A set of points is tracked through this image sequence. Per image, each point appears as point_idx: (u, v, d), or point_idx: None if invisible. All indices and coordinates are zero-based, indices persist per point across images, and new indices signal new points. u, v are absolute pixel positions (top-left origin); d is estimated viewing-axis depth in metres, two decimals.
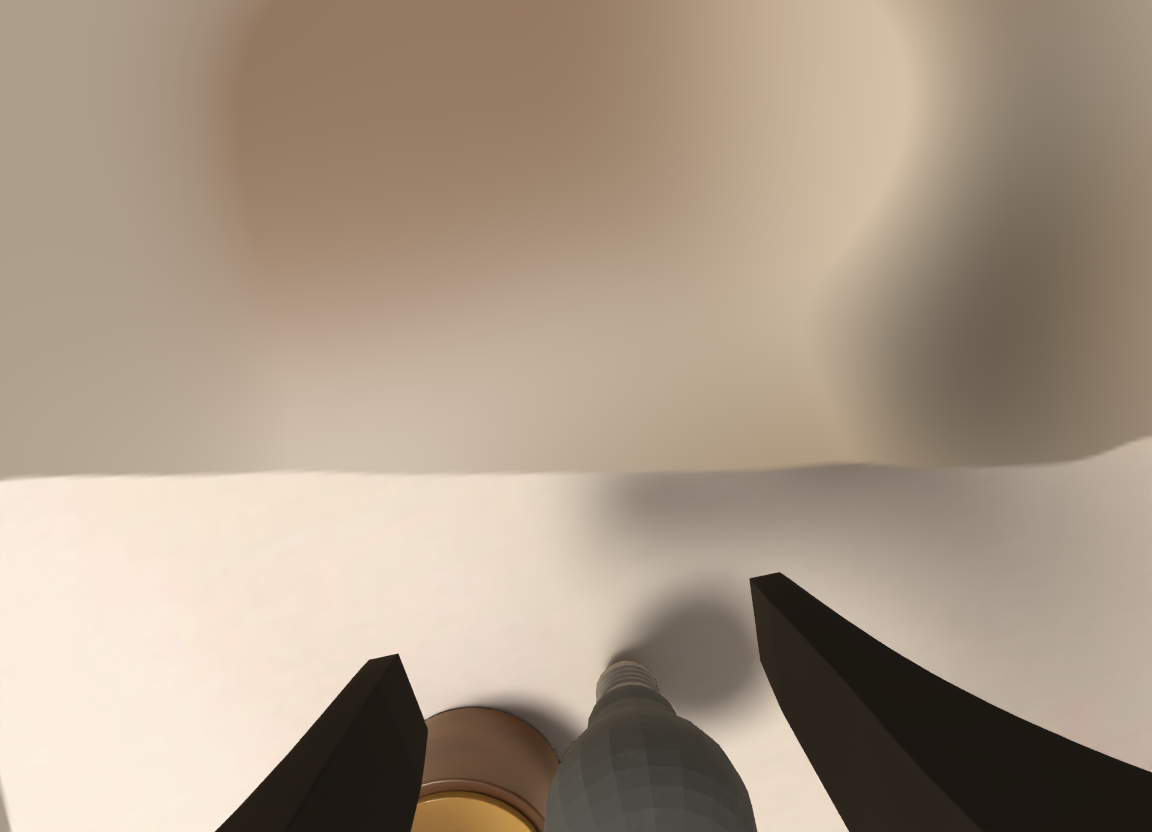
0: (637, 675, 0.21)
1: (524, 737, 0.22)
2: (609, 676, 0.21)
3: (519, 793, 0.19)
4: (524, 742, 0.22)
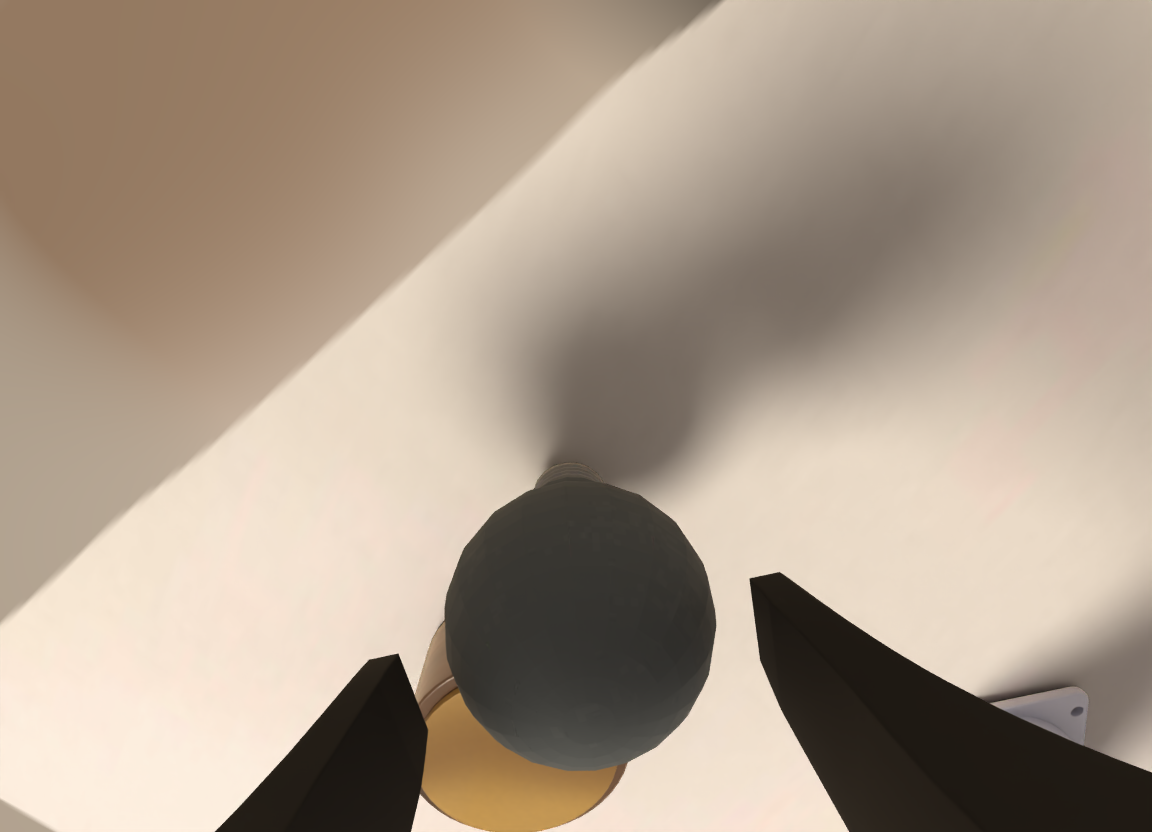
0: (555, 475, 0.17)
1: None
2: None
3: None
4: None
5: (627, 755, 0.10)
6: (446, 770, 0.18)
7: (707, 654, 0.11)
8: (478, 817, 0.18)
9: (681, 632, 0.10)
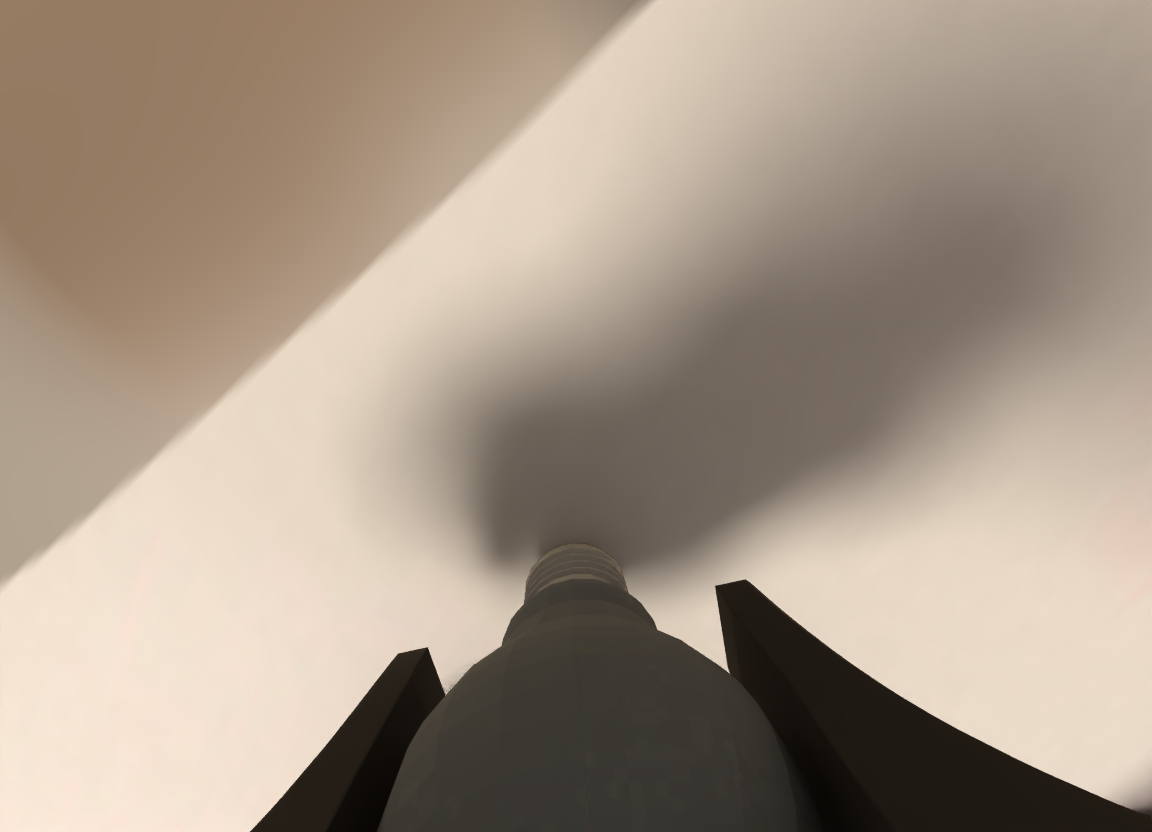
0: (556, 567, 0.12)
1: None
2: None
3: None
4: None
5: None
6: None
7: None
8: None
9: None
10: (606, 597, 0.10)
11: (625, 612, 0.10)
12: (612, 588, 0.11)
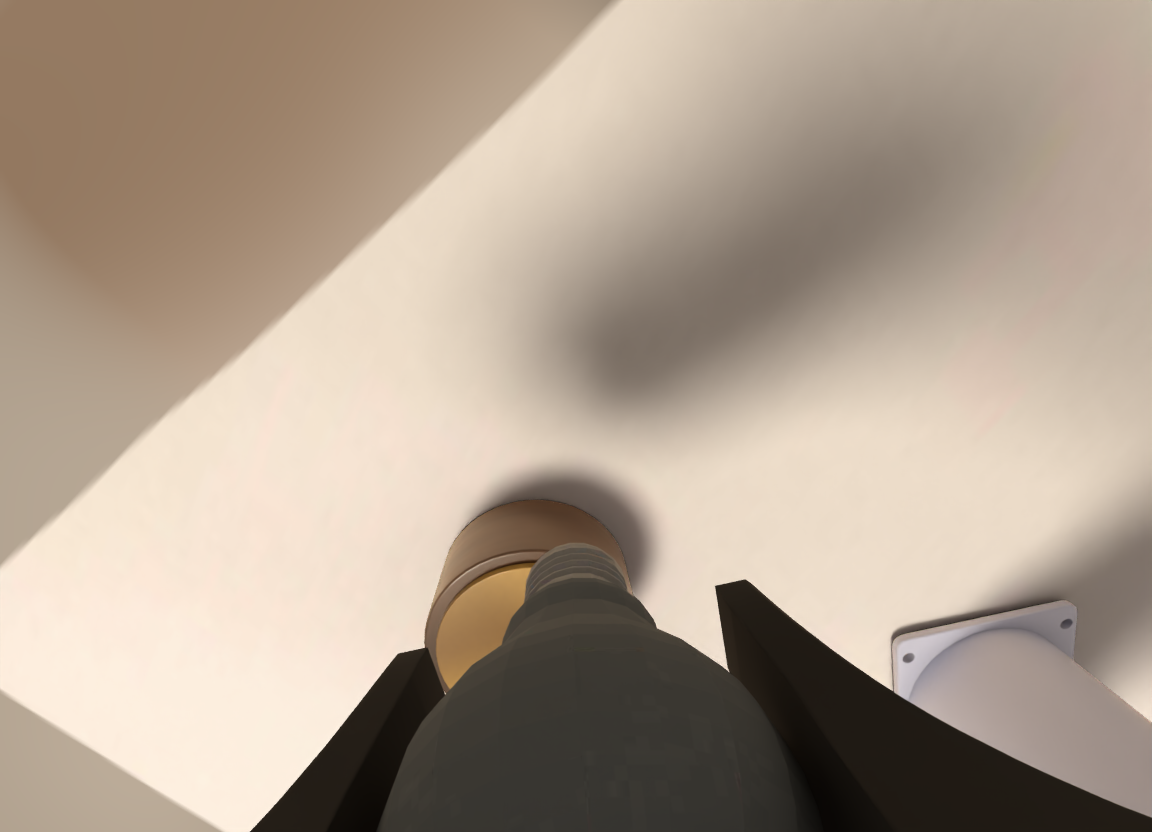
0: (556, 566, 0.12)
1: (529, 509, 0.20)
2: None
3: (529, 547, 0.18)
4: (530, 513, 0.20)
5: None
6: (465, 661, 0.18)
7: None
8: None
9: None
10: (606, 596, 0.10)
11: (625, 611, 0.10)
12: (612, 587, 0.11)
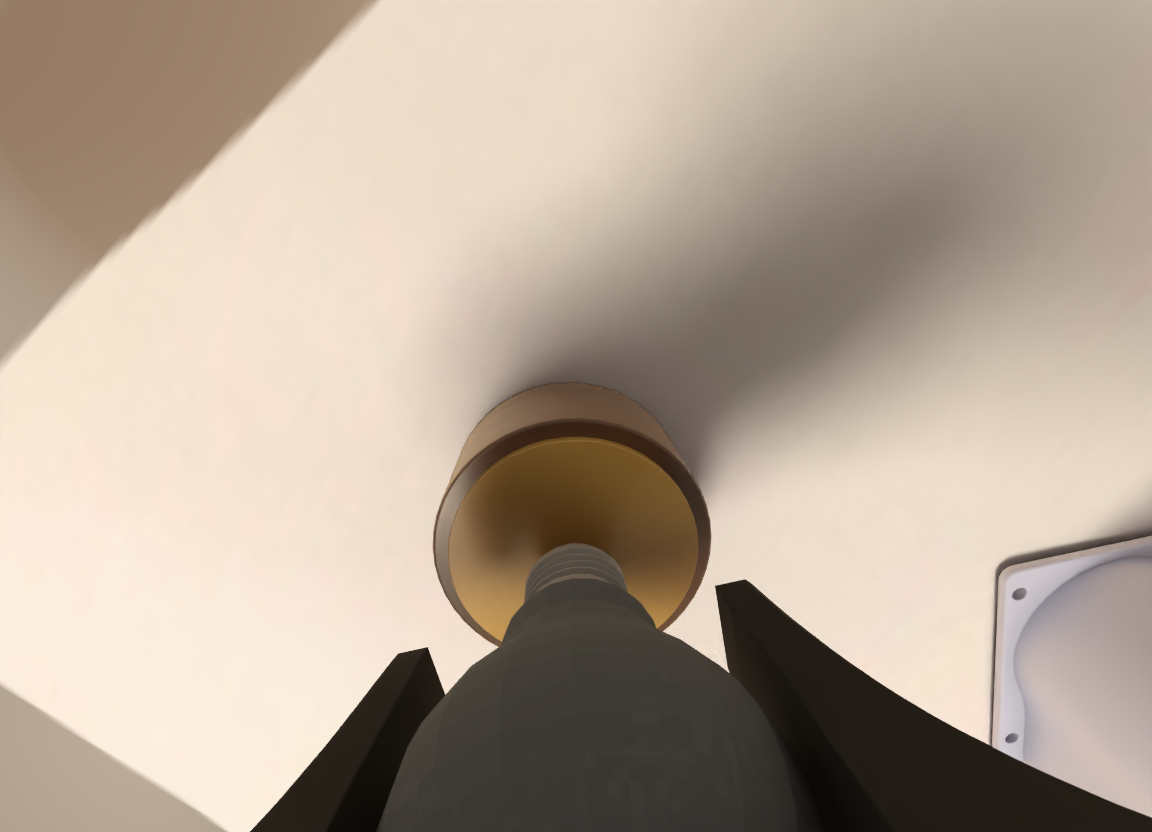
0: (556, 567, 0.12)
1: (565, 389, 0.16)
2: (528, 592, 0.13)
3: (571, 416, 0.14)
4: (567, 392, 0.16)
5: None
6: (486, 569, 0.14)
7: None
8: None
9: None
10: (606, 597, 0.10)
11: (625, 612, 0.10)
12: (612, 588, 0.11)
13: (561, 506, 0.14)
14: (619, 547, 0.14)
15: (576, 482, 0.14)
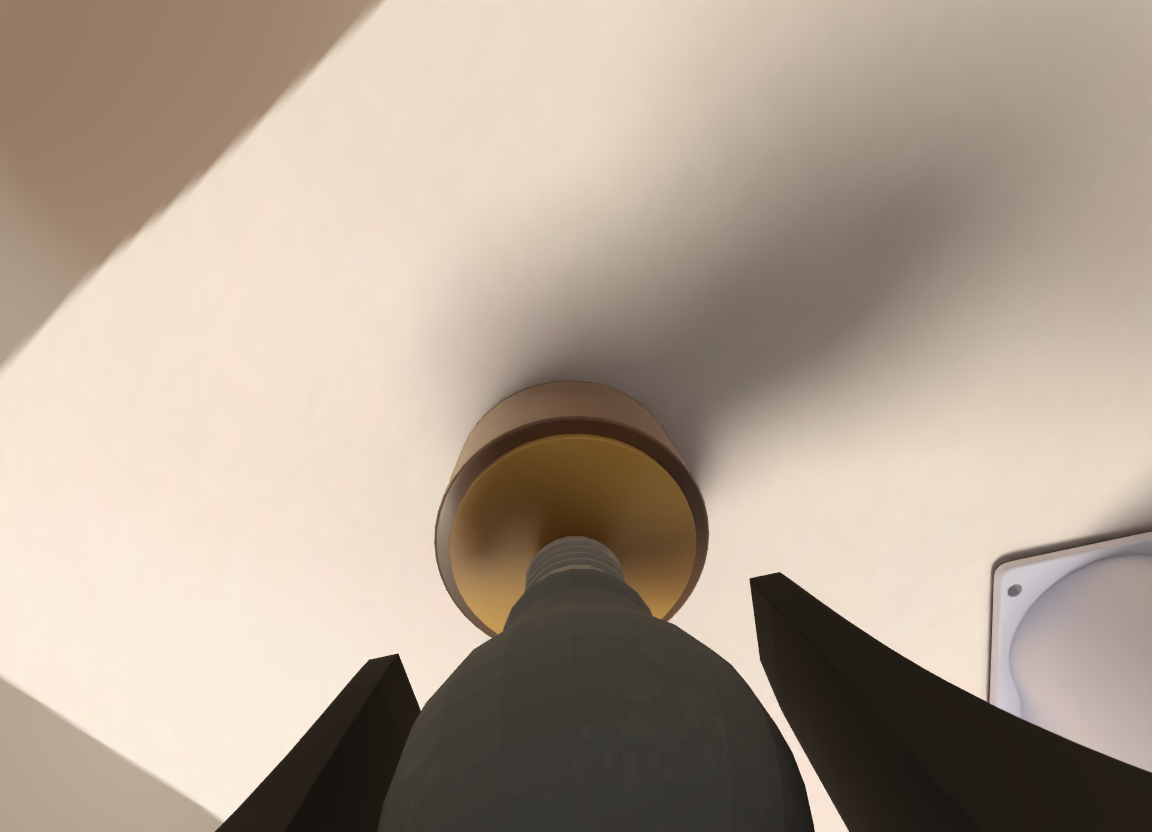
0: (556, 558, 0.12)
1: (565, 387, 0.16)
2: None
3: (571, 414, 0.14)
4: (566, 390, 0.16)
5: None
6: (487, 565, 0.14)
7: None
8: None
9: None
10: (604, 586, 0.11)
11: (622, 600, 0.10)
12: (609, 578, 0.11)
13: (561, 502, 0.14)
14: (618, 543, 0.14)
15: (576, 479, 0.14)
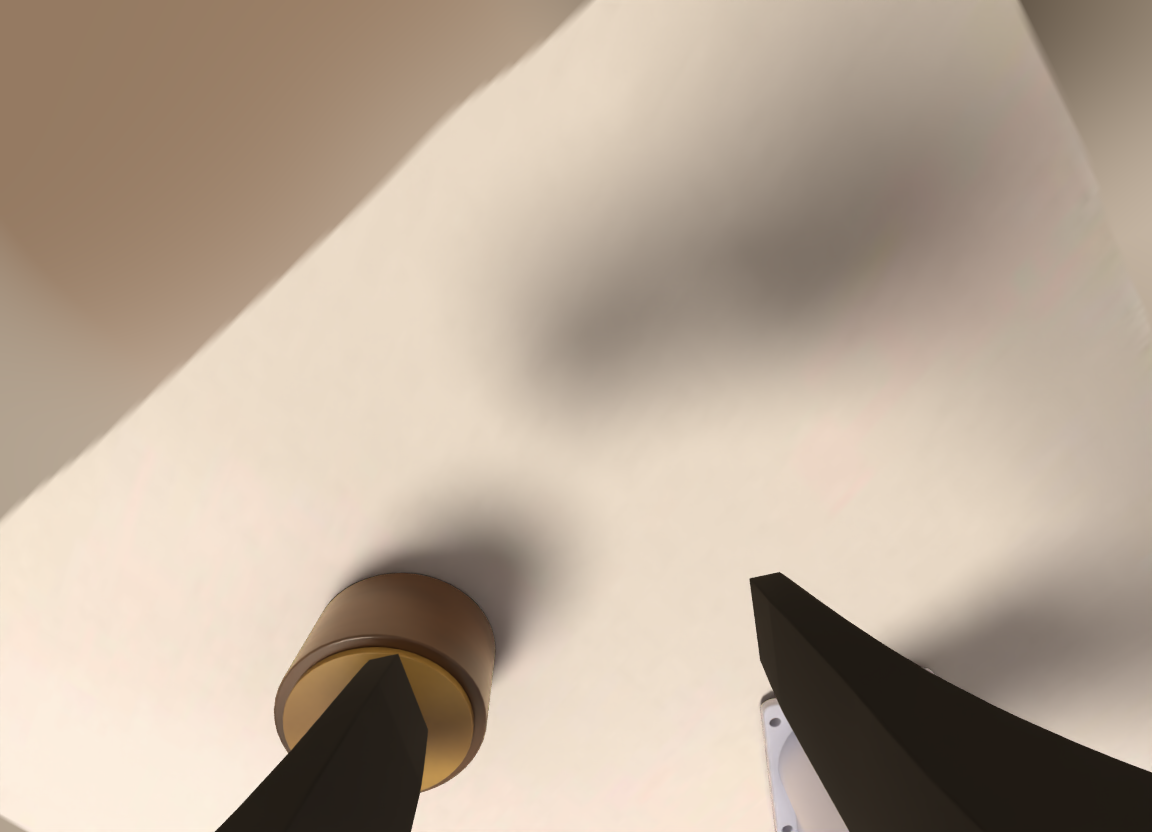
0: None
1: (389, 585, 0.21)
2: None
3: (370, 632, 0.18)
4: (388, 589, 0.21)
5: None
6: None
7: None
8: None
9: None
10: None
11: None
12: None
13: None
14: None
15: None
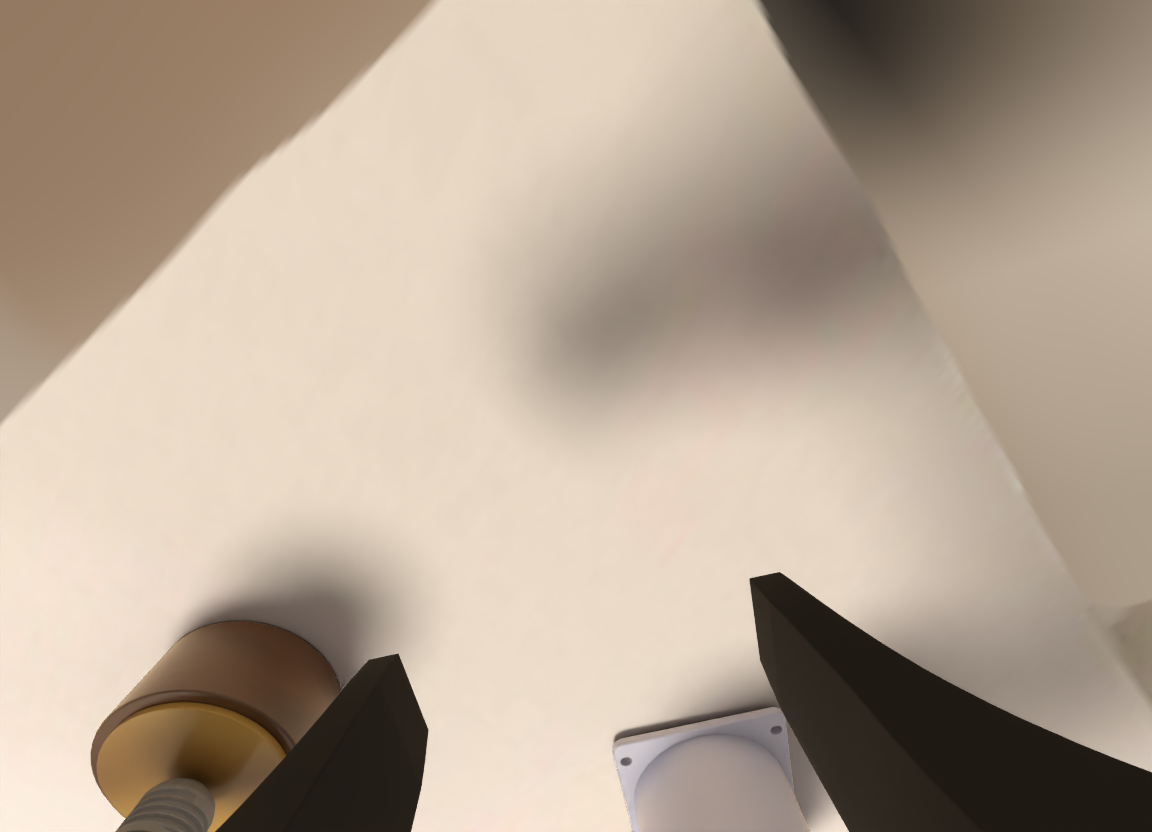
0: (139, 809, 0.18)
1: (219, 635, 0.21)
2: None
3: (178, 687, 0.19)
4: (217, 639, 0.21)
5: None
6: (130, 790, 0.20)
7: None
8: None
9: None
10: None
11: None
12: None
13: (175, 749, 0.19)
14: (227, 773, 0.20)
15: (182, 734, 0.19)
